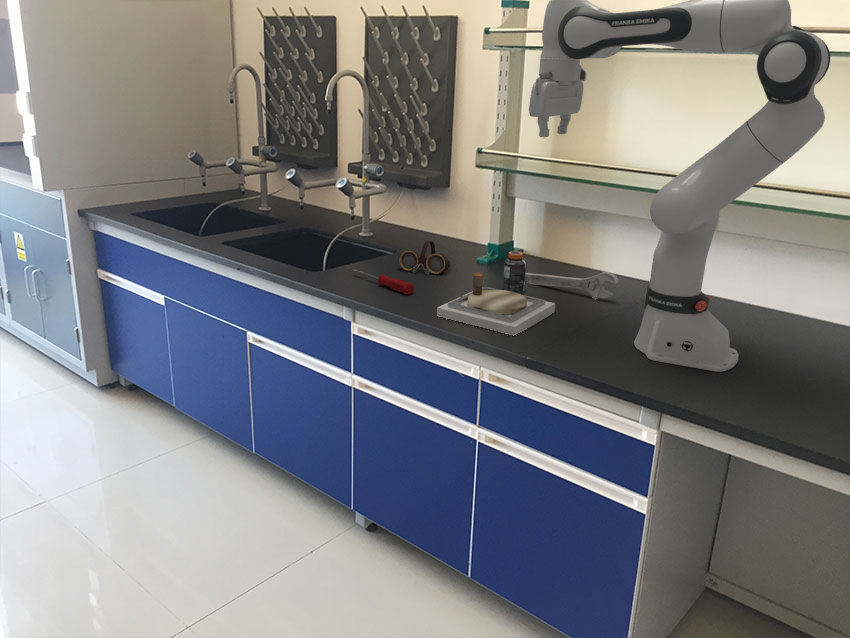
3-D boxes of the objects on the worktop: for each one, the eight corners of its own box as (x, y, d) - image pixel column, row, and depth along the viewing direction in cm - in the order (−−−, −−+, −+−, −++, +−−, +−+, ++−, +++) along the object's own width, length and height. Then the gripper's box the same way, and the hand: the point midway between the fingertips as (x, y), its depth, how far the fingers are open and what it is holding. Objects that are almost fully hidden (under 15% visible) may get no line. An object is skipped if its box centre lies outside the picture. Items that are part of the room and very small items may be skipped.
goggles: (395, 271, 218) (398, 238, 217) (409, 269, 230) (412, 238, 229) (444, 276, 214) (447, 243, 212) (455, 275, 226) (458, 243, 225)
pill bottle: (526, 290, 204) (529, 251, 200) (520, 295, 199) (523, 256, 195) (506, 287, 206) (509, 248, 202) (499, 292, 201) (502, 253, 197)
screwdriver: (357, 274, 215) (357, 263, 214) (415, 294, 198) (415, 282, 197) (348, 276, 213) (348, 265, 211) (406, 296, 196) (406, 284, 195)
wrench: (523, 290, 213) (618, 301, 195) (520, 292, 212) (615, 303, 193) (522, 264, 211) (619, 272, 192) (519, 265, 209) (616, 274, 191)
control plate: (554, 312, 186) (555, 299, 185) (513, 336, 169) (514, 323, 168) (481, 295, 198) (482, 283, 197) (436, 316, 181) (437, 303, 180)
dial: (537, 302, 185) (539, 277, 182) (508, 318, 173) (510, 291, 171) (486, 291, 193) (488, 267, 190) (456, 305, 181) (457, 279, 179)
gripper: (551, 73, 152) (545, 140, 157) (589, 73, 168) (583, 133, 173) (524, 72, 155) (519, 137, 160) (564, 71, 171) (559, 131, 176)
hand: (553, 135), depth 167 cm, fingers open, 8 cm apart
